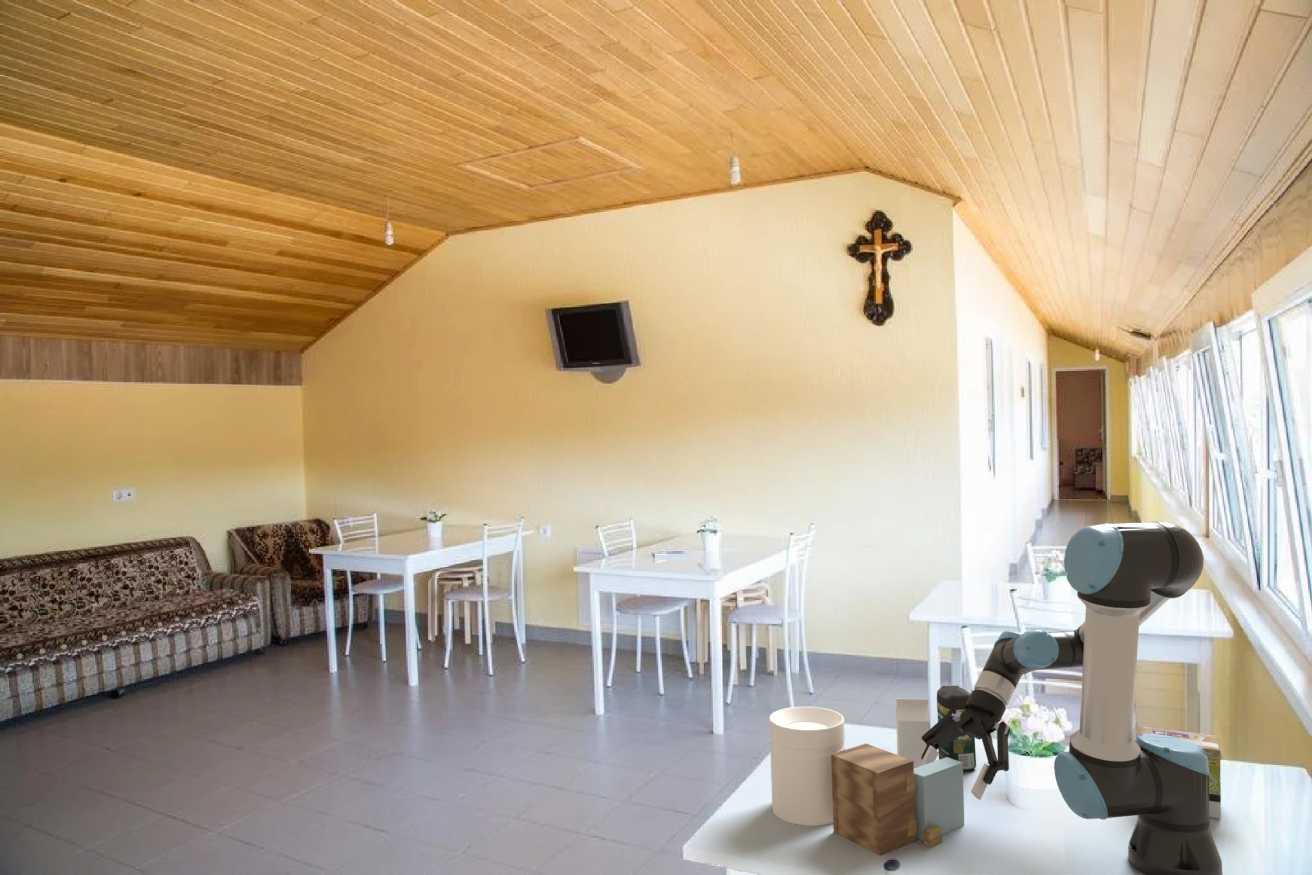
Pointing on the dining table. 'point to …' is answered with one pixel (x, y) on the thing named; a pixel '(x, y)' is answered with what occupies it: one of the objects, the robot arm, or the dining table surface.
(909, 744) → the milk carton
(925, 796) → the door
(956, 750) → the coffee jar
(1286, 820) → the dining table surface
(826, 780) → the canister
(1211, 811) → the tea box
